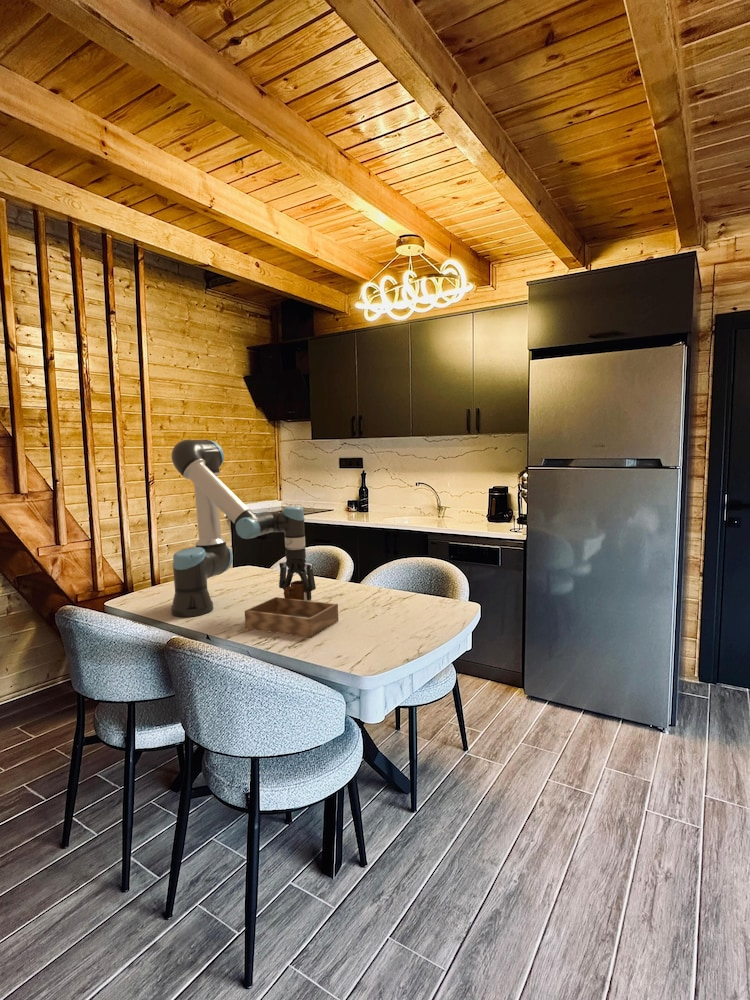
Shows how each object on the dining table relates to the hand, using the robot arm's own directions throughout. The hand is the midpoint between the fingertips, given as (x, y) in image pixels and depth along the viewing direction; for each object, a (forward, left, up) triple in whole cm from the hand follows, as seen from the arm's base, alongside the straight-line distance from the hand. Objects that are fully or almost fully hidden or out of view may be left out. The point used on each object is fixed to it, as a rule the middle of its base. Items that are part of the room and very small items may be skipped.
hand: (298, 607), depth 204 cm
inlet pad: (+9, -17, 0) cm, 19 cm away
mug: (-1, 0, -1) cm, 1 cm away
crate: (+9, -17, 0) cm, 19 cm away
